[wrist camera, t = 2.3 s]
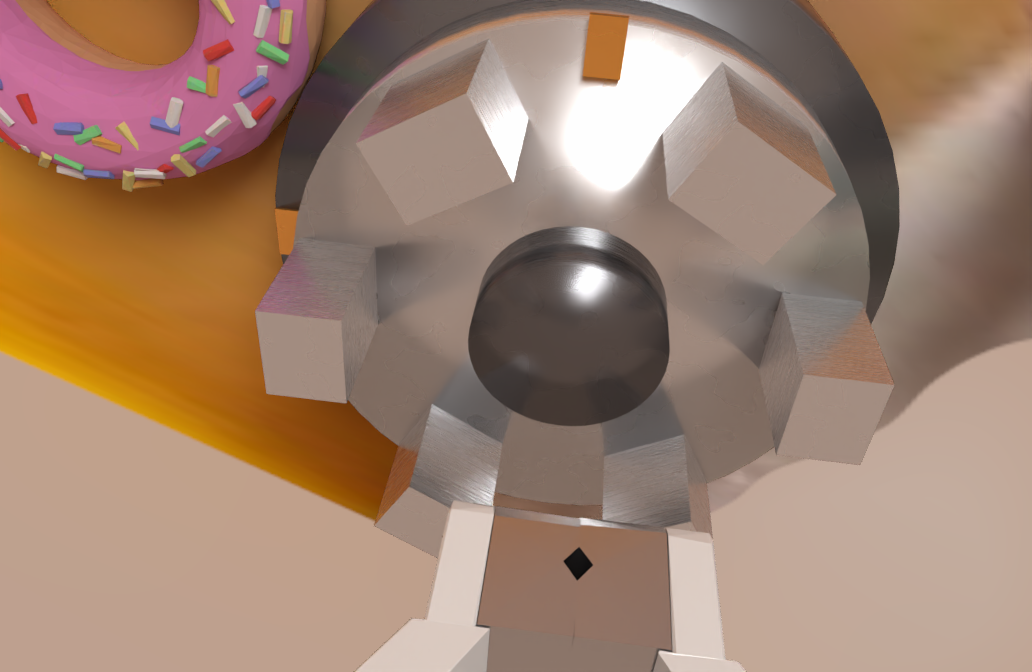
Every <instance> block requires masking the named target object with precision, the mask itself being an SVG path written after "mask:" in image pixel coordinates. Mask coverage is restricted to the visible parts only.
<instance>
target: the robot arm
mask: <svg viewBox="0 0 1032 672" xmlns="http://www.w3.org/2000/svg"><path fill="white" fill-rule="evenodd" d="M354 672H747V671H746V670H745V669H744V667H743V666H742V665H741V663H740V662H738V661H732V660H727V659H725V650H724V640H723V632H722V622H721V611H720V602H719V592H718V583H717V573H716V564H715V554H714V545H713V540H712V538H711V536H710V534H709V533H704V532H696V531H687V530H679V529H671V528H665V529H664V528H663V527H659V526H650V525H641V524H633V523H624V522H615V521H606V520H598V519H589V518H572V517H565V516H559V515H552V514H546V513H539V512H533V511H526V510H519V509H513V508H506V507H500V506H497V507H496V506H490V505H483V504H476V503H469V502H462V501H455V500H453V503H452V505H451V507H450V509H449V511H448V516H447V520H446V525H445V529H444V534H443V538H442V542H441V547H440V551H439V556H438V560H437V565H436V569H435V574H434V578H433V582H432V587H431V592H430V596H429V600H428V605H427V609H426V614H425V618H424V619H417V618H411V619H410V620H409V621H407V622H406V623H405V624H404V625H403V626H402V627H401V628H400V629H399V630H398V631H397V632H396V633H395V634H394V635H393V636H392V637H391V638H389V639H388V640H387V641H386V642H385V643H384V644H383V645H382V646H381V647H380V648H379V649H378V650H376V651H375V652H374V653H373V654H372V655H371V656H370V657H369V658H368V659H367V660H366V661H365V662H364V663H363V664H362V665H360V666H359V667H358V668H357V669H356V670H355V671H354Z"/></svg>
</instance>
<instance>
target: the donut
mask: <svg viewBox="0 0 1032 672" xmlns="http://www.w3.org/2000/svg"><path fill="white" fill-rule="evenodd" d="M325 14H326V0H199V22H198V28H197V33H196V36H195V39H194V41H193V43H192V46H191V47H190V48H189V49H188V50H187V52H186V53H185V54H184V55H183V56H181V57H180V58H179V59H177V60H175V61H174V62H172V63H170V64H163V65H149V64H141V63H136V62H133V61H130V60H127V59H124V58H121V57H118V56H115V55H113V54H112V53H110V52H108V51H106V50H104V49H102V48H100V47H98V46H96V45H94V44H93V43H91V42H90V41H89V40H87V39H86V38H85V37H83V36H82V35H81V34H79V33H78V32H77V31H76V30H74V29H73V28H72V27H71V26H70V25H69V24H68V23H67V22H66V21H65V20H64V19H63V18H61V17H60V16H59V15H58V14H57V13H56V12H55V11H54V10H53V9H52V8H51V6H50V5H49V3H48V2H47V0H0V141H1V142H3V141H5V142H6V143H8V144H9V145H10V146H11V147H12V148H14V149H15V150H16V151H17V150H18V149H20V148H22V149H23V150H25V151H26V152H28V153H29V152H30V153H32V154H34V155H36V156H38V157H40V159H39V163H38V165H39V166H42V167H44V168H48V166H49V164H50V162H52V163H54V164H57V165H58V166H57V172H58V173H61V174H65V175H68V176H72V177H76V178H79V179H83V180H87V179H88V177H90V178H104V179H123V180H122V189H124V190H127V191H130V192H132V191H133V189H140V188H147V187H155V186H162V185H163V184H164V183H163V179H171V178H178V177H186V176H188V177H191V176H194V175H196V174H198V173H201V172H204V171H207V170H209V169H212V168H214V167H217V166H219V165H222V164H224V163H226V162H229V161H231V160H234V159H236V158H238V157H241V156H243V155H245V154H247V153H248V152H250V151H251V150H253V149H254V148H256V147H258V146H259V145H261V144H262V143H263V142H264V141H265V140H266V139H267V138H268V137H269V135H270V133H271V132H272V131H273V130H274V129H275V128H277V127H278V126H279V125H280V124H281V122H282V121H283V120H284V118H285V117H286V116H287V114H288V113H289V112H290V110H291V109H292V107H293V106H294V104H295V103H296V101H297V100H298V99H299V97H300V96H301V94H302V92H303V90H304V88H305V86H306V84H307V82H308V79H309V77H310V75H311V73H312V70H313V67H314V64H315V60H316V57H317V53H318V50H319V47H320V43H321V40H322V33H323V27H324V21H325ZM135 180H137V181H135Z"/></svg>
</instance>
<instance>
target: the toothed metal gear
mask: <svg viewBox="0 0 1032 672" xmlns="http://www.w3.org/2000/svg"><path fill="white" fill-rule="evenodd" d="M869 282H870V267H869V244H868V239H867V234H866V229H865V224H864V219H863V214H862V210H861V207H860V205H859V202H858V200H857V197H856V194H855V192H854V189H853V186H852V184H851V181H850V179H849V176H848V174H847V172H846V170H845V168H844V166H843V163H842V161H841V159H840V157H839V155H838V153H837V151H836V149H835V147H834V144H833V142H832V140H831V138H830V137H829V135H828V133H827V132H826V130H825V128H824V126H823V125H822V123H821V121H820V120H819V118H818V116H817V114H816V113H815V111H814V109H813V108H812V107H811V106H810V104H809V103H808V102H807V101H806V99H805V98H804V97H803V96H802V94H801V93H800V92H799V91H798V90H797V88H796V87H795V86H794V85H793V83H792V82H791V81H790V80H789V79H788V78H787V77H786V76H785V75H784V74H782V73H781V72H780V71H779V70H778V69H777V68H776V67H775V66H774V65H772V64H771V63H770V62H769V61H768V60H767V59H766V58H765V57H764V56H763V55H761V54H760V53H758V52H757V51H755V50H754V49H752V48H751V47H749V46H748V45H746V44H745V43H743V42H742V41H740V40H739V39H737V38H736V37H734V36H733V35H731V34H730V33H728V32H726V31H724V30H722V29H720V28H718V27H716V26H714V25H712V24H710V23H707V22H705V21H703V20H701V19H699V18H697V17H695V16H693V15H690V14H687V13H684V12H681V11H678V10H674V9H671V8H668V7H665V6H662V5H658V4H655V3H652V2H647V1H641V0H518V1H514V2H510V3H506V4H502V5H498V6H494V7H490V8H486V9H484V10H481V11H479V12H476V13H474V14H471V15H469V16H466V17H464V18H461V19H459V20H457V21H454V22H452V23H449V24H448V25H446V26H444V27H442V28H441V29H439V30H437V31H435V32H434V33H432V34H430V35H429V36H427V37H425V38H423V39H422V40H420V41H418V42H416V43H415V44H414V45H413V46H411V47H410V48H409V49H408V50H406V51H405V52H404V53H403V54H401V55H400V56H399V57H397V58H396V59H395V60H394V61H392V62H391V63H390V64H389V65H387V66H386V67H385V69H384V70H383V71H382V72H381V73H380V74H379V75H378V76H377V77H376V78H375V79H374V80H373V81H372V82H371V83H370V85H369V86H368V87H367V88H366V89H365V90H364V91H363V92H362V94H361V95H360V97H359V98H358V100H357V101H356V102H355V104H354V105H353V107H352V108H351V110H350V111H349V113H348V114H347V116H346V117H345V118H344V120H343V121H342V123H341V124H340V126H339V127H338V129H337V130H336V132H335V133H334V135H333V136H332V138H331V139H330V141H329V142H328V143H327V145H326V146H325V148H324V149H323V151H322V152H321V154H320V156H319V158H318V161H317V163H316V165H315V167H314V169H313V171H312V173H311V175H310V177H309V179H308V182H307V184H306V187H305V191H304V194H303V197H302V201H301V204H300V208H299V211H298V215H297V222H296V229H295V237H294V245H293V250H292V251H291V253H290V255H289V256H288V258H287V260H286V261H285V263H284V264H283V266H282V268H281V269H280V271H279V273H278V274H277V276H276V278H275V279H274V281H273V282H272V284H271V286H270V287H269V289H268V291H267V292H266V294H265V296H264V297H263V299H262V300H261V302H260V304H259V305H258V307H257V309H256V310H255V314H256V321H257V328H258V336H259V343H260V350H261V357H262V364H263V371H264V378H265V386H266V393H267V394H272V395H281V396H289V397H297V398H306V399H314V400H322V401H331V402H339V403H347V401H348V400H349V401H350V402H351V404H352V405H353V406H354V407H355V408H356V410H357V411H358V412H359V413H360V414H361V415H362V416H363V417H365V418H366V419H367V420H368V421H369V422H370V423H371V424H372V425H373V426H374V427H375V428H376V429H377V430H378V431H379V432H381V433H382V434H383V435H385V436H386V437H387V438H389V439H390V440H391V441H393V442H394V443H395V444H397V445H398V449H397V452H396V455H395V459H394V462H393V465H392V469H391V472H390V475H389V478H388V482H387V485H386V488H385V491H384V495H383V498H382V501H381V504H380V508H379V511H378V514H377V517H376V521H375V524H374V526H375V527H377V528H380V529H381V530H383V531H385V532H387V533H389V534H391V535H393V536H395V537H397V538H399V539H401V540H403V541H405V542H407V543H409V544H411V545H413V546H415V547H417V548H419V549H420V550H422V551H425V552H426V553H428V554H430V555H432V556H434V557H436V558H438V556H439V551H440V547H441V542H442V538H443V534H444V529H445V525H446V520H447V516H448V511H449V509H450V507H451V505H452V503H453V500H455V501H462V502H469V503H476V504H483V505H490V506H492V504H493V498H494V492H497V493H501V494H505V495H508V496H512V497H516V498H522V499H528V500H534V501H539V502H545V503H557V504H570V505H603V520H606V521H615V522H624V523H633V524H641V525H650V526H659V527H663V528H664V529H665V528H671V529H679V530H687V531H696V532H704V533H709V534H710V536H711V538H712V540H713V537H712V527H711V518H710V508H709V498H708V489H707V483H709V482H712V481H714V480H716V479H719V478H721V477H724V476H726V475H728V474H730V473H732V472H734V471H736V470H738V469H740V468H741V467H743V466H745V465H747V464H749V463H751V462H752V461H754V460H756V459H758V458H759V457H760V456H762V455H763V454H765V453H766V452H768V451H769V450H770V449H772V448H773V447H775V452H776V455H780V456H789V457H797V458H805V459H814V460H822V461H831V462H839V463H847V464H855V465H860V464H861V462H862V460H863V457H864V455H865V453H866V450H867V448H868V446H869V443H870V441H871V439H872V436H873V434H874V432H875V429H876V427H877V425H878V422H879V420H880V418H881V416H882V413H883V411H884V409H885V406H886V404H887V402H888V399H889V397H890V395H891V392H892V390H893V388H894V382H893V380H892V377H891V375H890V372H889V370H888V367H887V365H886V362H885V360H884V357H883V355H882V352H881V349H880V347H879V344H878V342H877V339H876V337H875V334H874V332H873V329H872V327H871V324H870V322H869V319H868V317H867V314H866V305H867V297H868V289H869Z"/></svg>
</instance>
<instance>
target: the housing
mask: <svg viewBox="0 0 1032 672" xmlns="http://www.w3.org/2000/svg"><path fill="white" fill-rule="evenodd" d="M514 1H518V0H373V1H372V2H371V3H370V4H369V5H368V6H367V8H366V9H365V10H364V11H363V12H362V13H361V14H360V16H359V17H358V18H357V19H356V20H355V21H354V22H353V24H352V25H351V26H350V27H349V28H348V29H347V31H346V32H345V33H344V34H343V35H342V36H341V38H340V39H339V40H338V41H337V42H336V43H335V45H334V46H333V47H332V48H331V49H330V50H329V52H328V53H327V54H326V55H325V57H324V58H323V60H322V62H321V63H320V65H319V66H318V68H317V69H316V71H315V73H314V74H313V76H312V77H311V79H310V80H309V82H308V84H307V85H306V87H305V88H304V90H303V93H302V95H301V97H300V99H299V102H298V104H297V106H296V109H295V111H294V113H293V115H292V118H291V120H290V122H289V125H288V129H287V133H286V136H285V140H284V144H283V148H282V151H281V155H280V159H279V167H278V176H277V185H276V195H275V197H276V208H275V216H276V225H277V234H278V242H279V251H280V254H281V255H282V261H283V264H284V263H285V261H286V260H287V258H288V256H289V255H290V253H291V251H292V250H293V245H294V237H295V229H296V222H297V215H298V211H299V208H300V204H301V201H302V197H303V194H304V191H305V187H306V184H307V182H308V179H309V177H310V175H311V173H312V171H313V169H314V167H315V165H316V163H317V161H318V158H319V156H320V154H321V152H322V151H323V149H324V148H325V146H326V145H327V143H328V142H329V141H330V139H331V138H332V136H333V135H334V133H335V132H336V130H337V129H338V127H339V126H340V124H341V123H342V121H343V120H344V118H345V117H346V116H347V114H348V113H349V111H350V110H351V108H352V107H353V105H354V104H355V102H356V101H357V100H358V98H359V97H360V95H361V94H362V92H363V91H364V90H365V89H366V88H367V87H368V86H369V85H370V83H371V82H372V81H373V80H374V79H375V78H376V77H377V76H378V75H379V74H380V73H381V72H382V71H383V70H384V69H385V67H386V66H387V65H389V64H390V63H391V62H392V61H394V60H395V59H396V58H397V57H399V56H400V55H401V54H403V53H404V52H405V51H406V50H408V49H409V48H410V47H411V46H413V45H414V44H415V43H416V42H418V41H420V40H422V39H423V38H425V37H427V36H429V35H430V34H432V33H434V32H435V31H437V30H439V29H441V28H442V27H444V26H446V25H448V24H449V23H452V22H454V21H457V20H459V19H461V18H464V17H466V16H469V15H471V14H474V13H476V12H479V11H481V10H484V9H486V8H490V7H494V6H498V5H502V4H506V3H510V2H514ZM641 1H647V2H652V3H655V4H658V5H662V6H665V7H668V8H671V9H674V10H678V11H681V12H684V13H687V14H690V15H693V16H695V17H697V18H699V19H701V20H703V21H705V22H707V23H710V24H712V25H714V26H716V27H718V28H720V29H722V30H724V31H726V32H728V33H730V34H731V35H733V36H734V37H736V38H737V39H739V40H740V41H742V42H743V43H745V44H746V45H748V46H749V47H751V48H752V49H754V50H755V51H757V52H758V53H760V54H761V55H763V56H764V57H765V58H766V59H767V60H768V61H769V62H770V63H771V64H772V65H774V66H775V67H776V68H777V69H778V70H779V71H780V72H781V73H782V74H784V75H785V76H786V77H787V78H788V79H789V80H790V81H791V82H792V83H793V85H794V86H795V87H796V88H797V90H798V91H799V92H800V93H801V94H802V96H803V97H804V98H805V99H806V101H807V102H808V103H809V104H810V106H811V107H812V108H813V109H814V111H815V113H816V114H817V116H818V118H819V120H820V121H821V123H822V125H823V126H824V128H825V130H826V132H827V133H828V135H829V137H830V138H831V140H832V142H833V144H834V147H835V149H836V151H837V153H838V155H839V157H840V159H841V161H842V163H843V166H844V168H845V170H846V172H847V174H848V176H849V179H850V181H851V184H852V186H853V189H854V192H855V194H856V197H857V200H858V202H859V205H860V207H861V210H862V214H863V219H864V224H865V229H866V234H867V239H868V244H869V267H870V282H869V289H868V297H867V305H866V314H867V317H868V319H869V322H870V324H871V323H872V321H873V319H874V317H875V315H876V312H877V310H878V308H879V306H880V304H881V302H882V300H883V298H884V294H885V291H886V288H887V285H888V281H889V278H890V275H891V272H892V268H893V265H894V260H895V253H896V246H897V240H898V233H899V186H898V180H897V174H896V169H895V163H894V157H893V151H892V148H891V145H890V142H889V139H888V136H887V133H886V131H885V128H884V125H883V122H882V119H881V116H880V113H879V111H878V109H877V107H876V105H875V103H874V102H873V100H872V98H871V96H870V94H869V92H868V90H867V89H866V87H865V85H864V83H863V81H862V79H861V78H860V76H859V74H858V72H857V71H856V69H855V68H854V66H853V64H852V63H851V61H850V60H849V58H848V56H847V55H846V53H845V52H844V50H843V49H842V47H841V45H840V44H839V42H838V41H837V39H836V37H835V36H834V34H833V33H832V31H831V30H830V29H829V27H828V26H827V25H826V23H825V22H824V21H823V19H822V18H821V17H820V16H819V14H818V13H817V12H816V10H815V9H814V8H813V6H812V5H811V4H810V3H809V1H808V0H641Z"/></svg>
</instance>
